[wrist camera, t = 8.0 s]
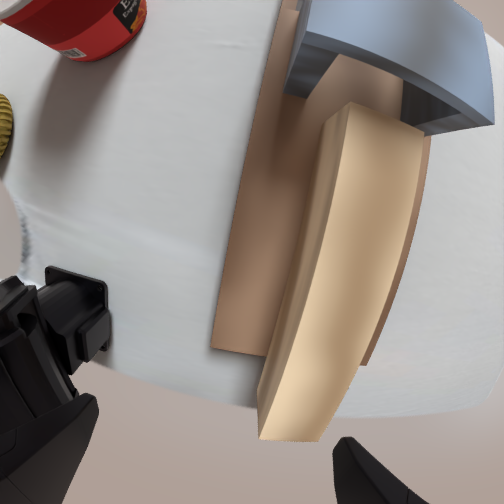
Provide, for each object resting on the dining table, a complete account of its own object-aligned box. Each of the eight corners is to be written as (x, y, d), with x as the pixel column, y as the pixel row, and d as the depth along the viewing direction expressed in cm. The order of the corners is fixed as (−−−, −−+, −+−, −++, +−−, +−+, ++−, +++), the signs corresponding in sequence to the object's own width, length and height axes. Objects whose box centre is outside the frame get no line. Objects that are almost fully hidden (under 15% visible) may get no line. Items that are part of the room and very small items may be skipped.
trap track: (213, 332, 20) (192, 428, 11) (290, -25, 13) (307, -100, 4) (358, 352, 21) (404, 432, 11) (419, 22, 14) (476, -22, 4)
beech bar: (256, 390, 19) (258, 439, 14) (321, 124, 15) (350, 101, 10) (306, 395, 19) (317, 441, 14) (380, 143, 15) (424, 132, 10)
